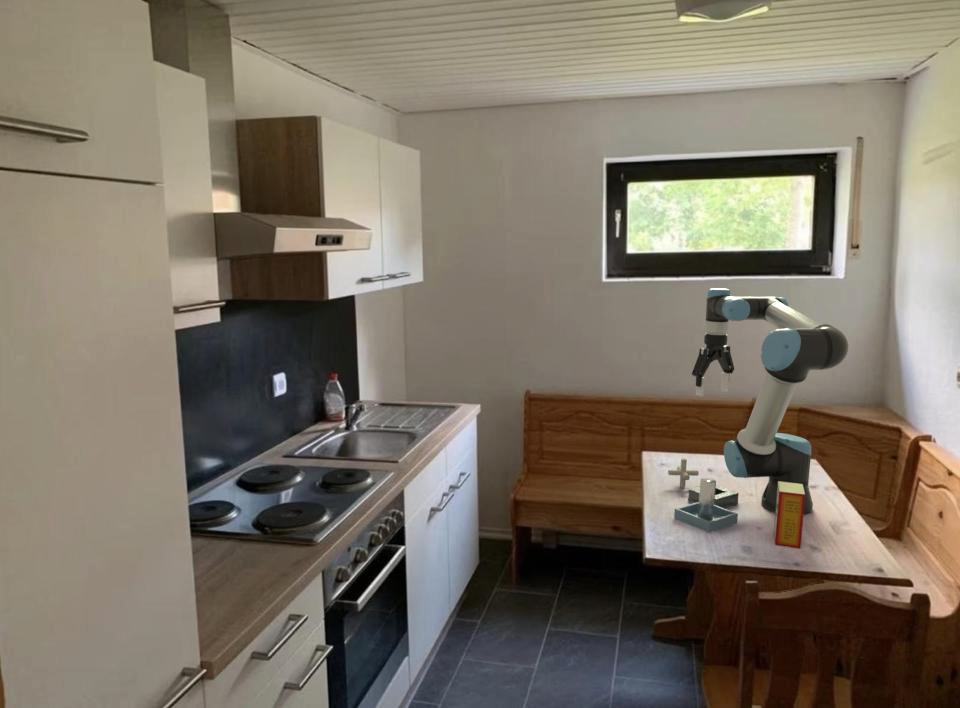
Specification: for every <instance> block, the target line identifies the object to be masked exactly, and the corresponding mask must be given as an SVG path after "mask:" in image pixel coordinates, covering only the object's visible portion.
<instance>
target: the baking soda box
mask: <svg viewBox="0 0 960 708" xmlns="http://www.w3.org/2000/svg"><path fill="white" fill-rule="evenodd" d="M804 501H805V492H804V488H803V484H798V483H790V482H781V481H778V487H777V500H776V512H775V514H774V515H775V516H774V526H773V527H774V529H773V539H774V546H779V547H785V548H786V547H787V548H791V549H798V550H799V549H801V548H802V546H801V545H802V533H803V522H804V515H803V513H804Z"/></svg>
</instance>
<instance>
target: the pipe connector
mask: <svg viewBox="0 0 960 708" xmlns="http://www.w3.org/2000/svg"><path fill="white" fill-rule="evenodd" d="M680 459H681V460H680V465H678V466H677V468H676V469H668V470H667V471H668V472H667V475H668V476H680V477H679V488H682V489H685V488H686V483H687V481H689V480H690V479H691V478H690V476H696V477H697V476H699V474H700V473H699V472H700V471H699V470H695V469H694V470H690V469H687V463H688V461H687V460H688V459H687V458H685V457H682V458H680Z"/></svg>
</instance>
